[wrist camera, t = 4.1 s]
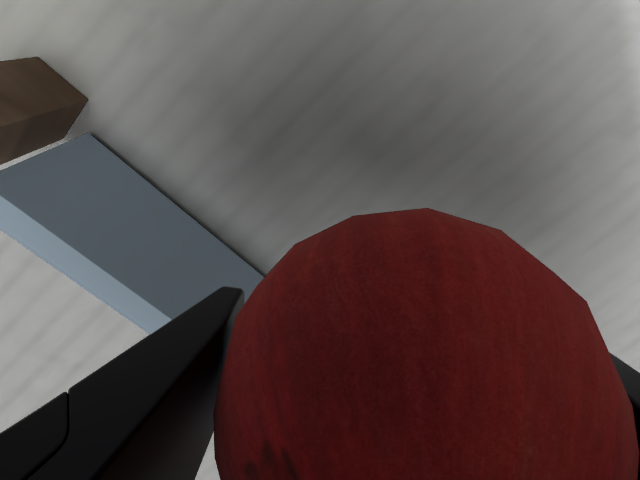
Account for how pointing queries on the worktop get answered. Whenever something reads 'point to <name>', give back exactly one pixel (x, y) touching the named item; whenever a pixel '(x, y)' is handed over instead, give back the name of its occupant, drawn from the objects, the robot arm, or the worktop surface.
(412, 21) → the worktop surface
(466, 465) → the onion
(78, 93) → the door frame
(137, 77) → the worktop surface
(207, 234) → the door
